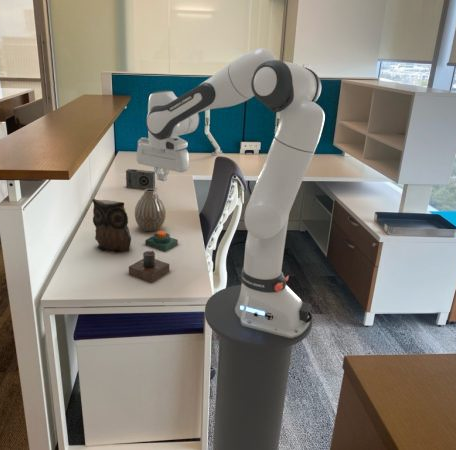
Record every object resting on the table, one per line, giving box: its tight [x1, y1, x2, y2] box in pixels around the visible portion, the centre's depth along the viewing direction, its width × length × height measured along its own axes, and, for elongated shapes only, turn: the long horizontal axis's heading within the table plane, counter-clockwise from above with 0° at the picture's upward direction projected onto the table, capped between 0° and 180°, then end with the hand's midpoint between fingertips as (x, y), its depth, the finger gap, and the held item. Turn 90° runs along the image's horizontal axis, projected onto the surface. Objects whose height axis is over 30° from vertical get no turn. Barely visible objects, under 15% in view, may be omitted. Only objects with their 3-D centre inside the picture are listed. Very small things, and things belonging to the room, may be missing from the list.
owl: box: [92, 198, 132, 254], centre depth 169 cm, size 13×13×20 cm
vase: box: [134, 188, 167, 232], centre depth 189 cm, size 13×13×18 cm
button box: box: [145, 232, 179, 252], centre depth 177 cm, size 10×8×4 cm
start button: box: [156, 230, 167, 238], centre depth 176 cm, size 4×4×2 cm
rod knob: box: [142, 250, 156, 268], centre depth 153 cm, size 4×4×5 cm
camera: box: [125, 168, 156, 190], centre depth 243 cm, size 16×4×10 cm, turn 77°
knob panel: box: [128, 258, 170, 283], centre depth 155 cm, size 10×10×3 cm
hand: (162, 180), depth 154 cm, fingers closed
